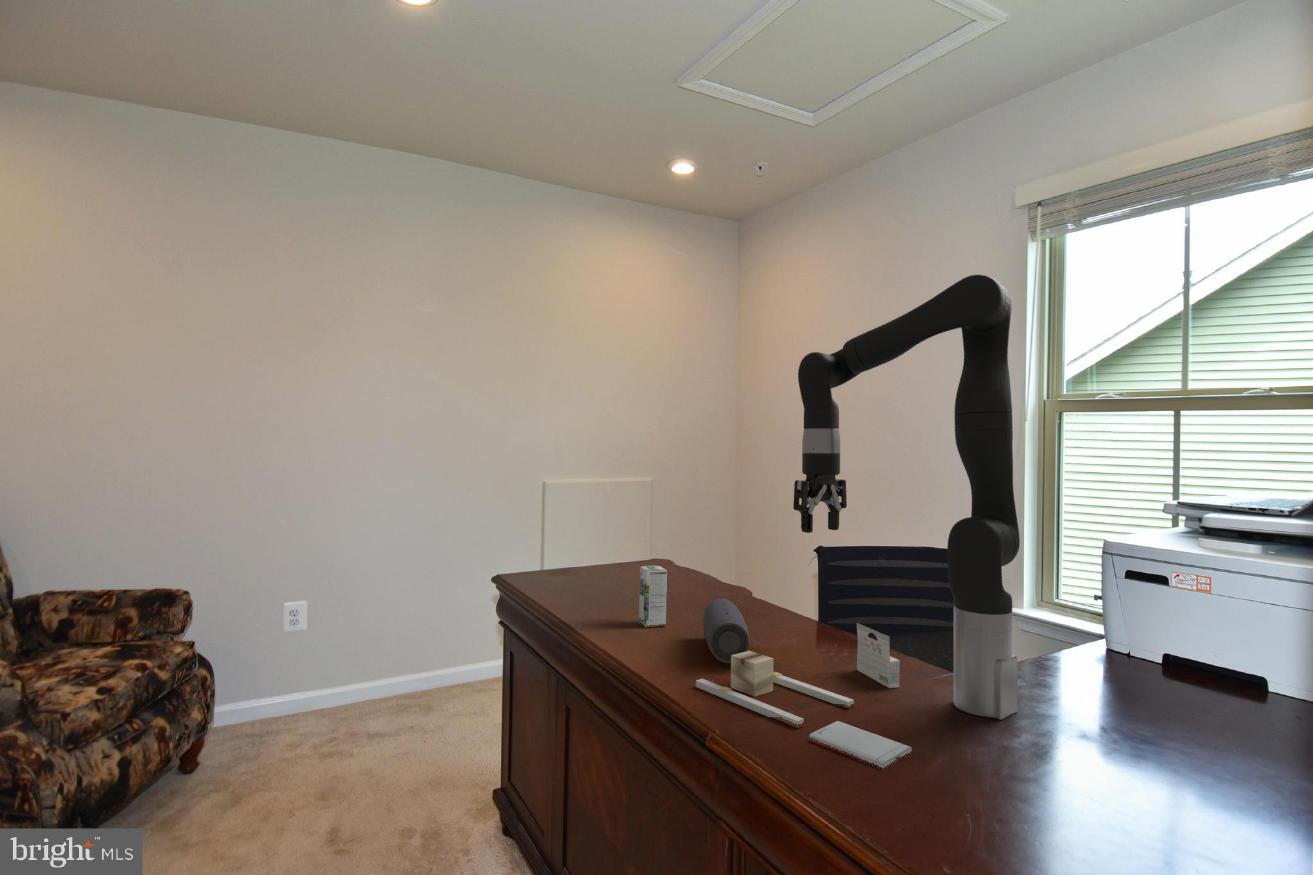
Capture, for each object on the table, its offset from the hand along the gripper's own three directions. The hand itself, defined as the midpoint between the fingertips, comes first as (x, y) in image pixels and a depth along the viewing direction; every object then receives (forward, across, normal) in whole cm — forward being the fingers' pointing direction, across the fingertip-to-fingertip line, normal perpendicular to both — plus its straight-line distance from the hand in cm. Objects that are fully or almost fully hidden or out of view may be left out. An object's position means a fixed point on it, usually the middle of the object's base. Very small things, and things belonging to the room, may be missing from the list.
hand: (820, 531), depth 138 cm
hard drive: (+29, -24, -26) cm, 46 cm away
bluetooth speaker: (+28, -7, +20) cm, 35 cm away
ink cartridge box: (+28, +5, -10) cm, 31 cm away
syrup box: (+28, -5, +48) cm, 56 cm away
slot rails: (+28, -19, -4) cm, 34 cm away
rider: (+28, -19, +1) cm, 34 cm away
